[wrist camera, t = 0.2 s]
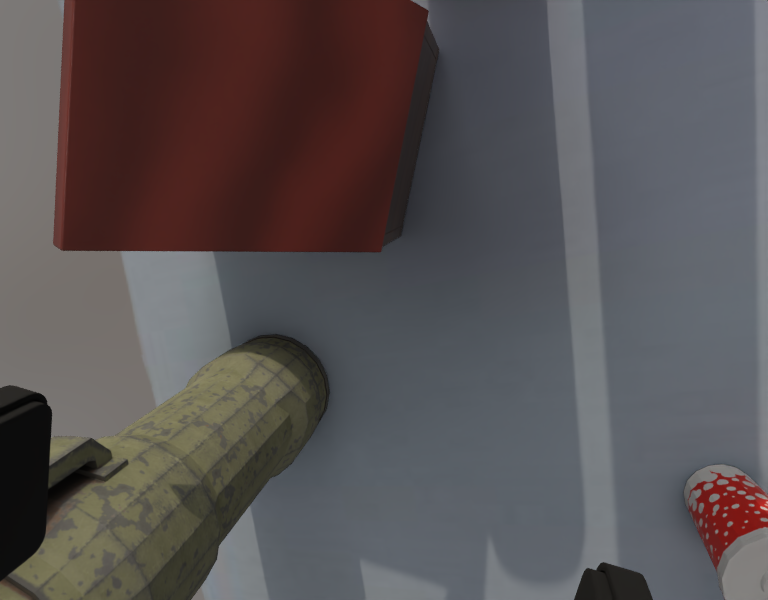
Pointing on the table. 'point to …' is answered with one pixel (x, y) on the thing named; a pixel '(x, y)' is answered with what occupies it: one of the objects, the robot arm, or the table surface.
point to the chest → (412, 136)
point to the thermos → (172, 479)
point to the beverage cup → (732, 528)
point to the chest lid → (232, 123)
